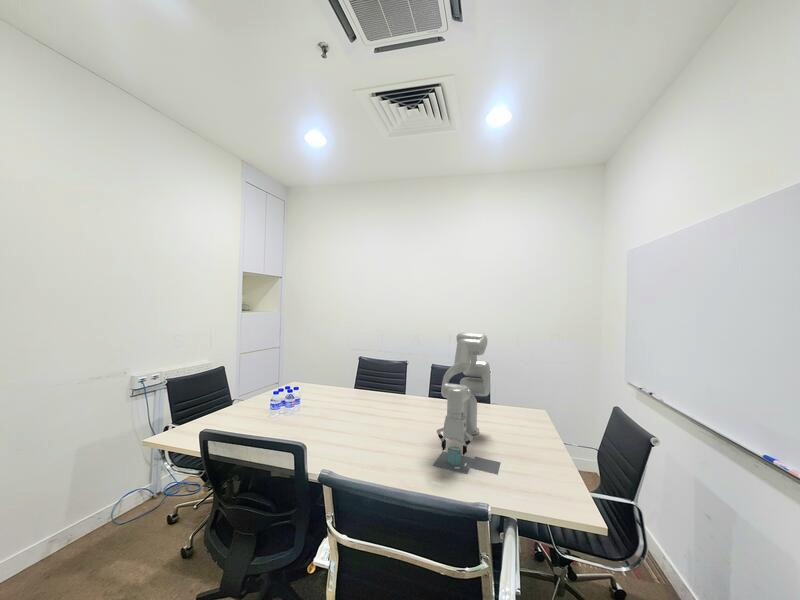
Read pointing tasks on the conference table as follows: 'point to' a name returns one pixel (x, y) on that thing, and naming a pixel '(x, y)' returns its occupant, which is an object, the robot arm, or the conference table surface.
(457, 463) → the cap
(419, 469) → the conference table surface
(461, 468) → the post plate
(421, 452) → the conference table surface
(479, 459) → the mat
